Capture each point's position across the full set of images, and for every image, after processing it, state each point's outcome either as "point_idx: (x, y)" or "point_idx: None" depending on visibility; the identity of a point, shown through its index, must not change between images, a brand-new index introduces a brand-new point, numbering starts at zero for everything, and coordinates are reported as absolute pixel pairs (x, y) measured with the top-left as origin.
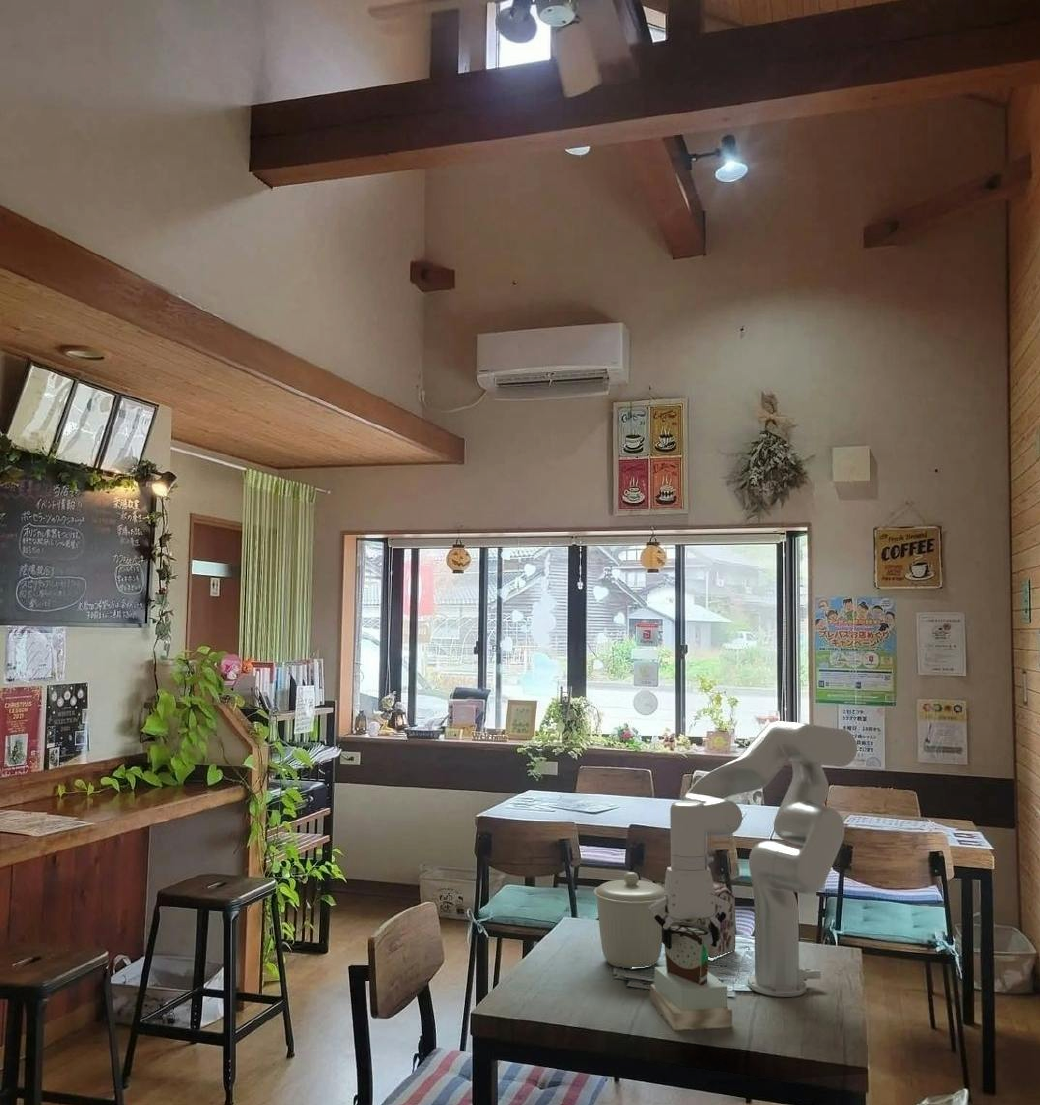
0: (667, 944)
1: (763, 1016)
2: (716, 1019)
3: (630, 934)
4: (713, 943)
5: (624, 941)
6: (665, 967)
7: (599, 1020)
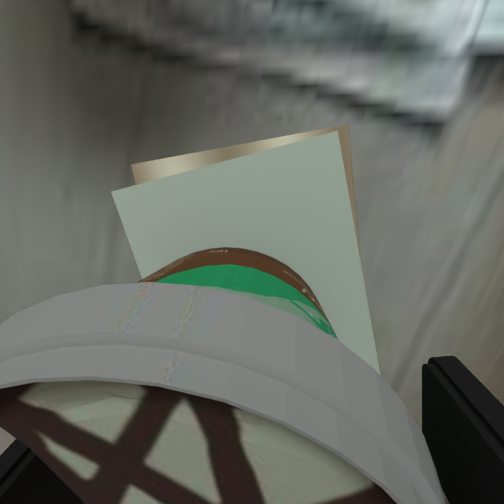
0: None
1: (476, 288)
2: None
3: None
4: (437, 473)
5: None
6: (162, 193)
7: (14, 312)
